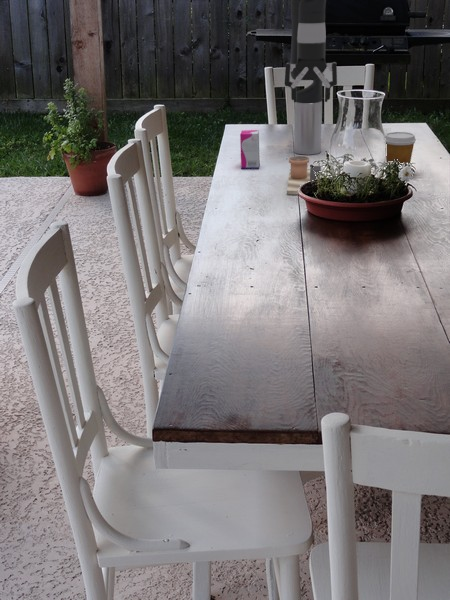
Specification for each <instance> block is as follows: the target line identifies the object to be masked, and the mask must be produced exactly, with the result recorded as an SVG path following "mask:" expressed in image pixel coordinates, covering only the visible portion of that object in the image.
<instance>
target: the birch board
mask: <svg viewBox="0 0 450 600" xmlns="http://www.w3.org/2000/svg"><path fill="white" fill-rule="evenodd" d="M311 166H312V165H310V167H309V168H307V178H304V179H293V178H291V168H290V169H289V174H288V181H287V188H286V195H298V194H297V190H298V188H299V187H300V185H302V184H303V183H306V182H308V181H312V180H315V179H316V176H315V174H314V171H315V172H316V173H317V172H318V171H322V172H323V168H322V166H321V165H313V166H314V168H312V167H311ZM313 170H314V171H313Z"/></svg>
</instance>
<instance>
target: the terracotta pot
mask: <svg viewBox="0 0 450 600" xmlns="http://www.w3.org/2000/svg"><path fill="white" fill-rule="evenodd" d="M288 163H289V164H290V169H291V178H293V179H304V178H307V169H308V164H309V163H310V157H308V156H304V155H295V156H291V157H289V158H288Z"/></svg>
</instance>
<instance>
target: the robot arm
mask: <svg viewBox="0 0 450 600" xmlns="http://www.w3.org/2000/svg"><path fill="white" fill-rule="evenodd" d="M290 5H291V6H290V16H291V17H290V18H291V19H290V21H291V41H290V42H291V45H290V60H289V61H290V62H287V63H286V64H285V69H284V70H285V71H284V73H285V75H284V86H286V87H289V88H290V90H291V93H290V95H291V97H290V98H291V101H293V103H294V105H293V106H294V109H293V110H294V114H293V115H294V116H293V119H294V122H293V123H294V125H293V126H294V128H293V129H294V130H293V131H294V132H293V133H294V134H293V153H295V154H297V155H303V156H304V155H307V156H308V155H309V156H311V155H318V154H320V153H322V126H323V125H322V123H323V122H322V119H323V85H324V86H325V87H324V102H325V103H328V101H329V100H330V99H331V88H332V87H335V86H337V84H338V76H337V75H338V70H337V66H338V65H337V62H336V61H333V62H326V42H327V41H326V39H327V37H326V34H327V33H326V32H327V31H326V5H327V0H290ZM327 68H328V70H329V71H330V72H331V75H332V76H331V77H332V78H331V79H332V80H331V81H329V80H328V78H327V77H326V75H325V74H324V72H325V70H326V69H327ZM290 78H292V79H293V82H292V81H290ZM301 81H312V83H311V84H310V85H308V86H307V87H305V88H302V89H299V90H297V88H298V87H297V85H298V84H299V83H300V82H301Z"/></svg>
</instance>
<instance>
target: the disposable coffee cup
mask: <svg viewBox="0 0 450 600" xmlns="http://www.w3.org/2000/svg"><path fill="white" fill-rule="evenodd" d="M384 138H386V144H387V156H386V155H385V159H386V160H385V161H386V162H388V161H394V159H395V158H397V159H398V161H399V162H400V163H403V162H408V163H410V164H411V161H412V155H413V151H414V146H415V145H414V144H415V142H416V140H417V139H416V136H415V134H414V133H412V132H407V131H393V132H387V133H386V134H385V136H384Z"/></svg>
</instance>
